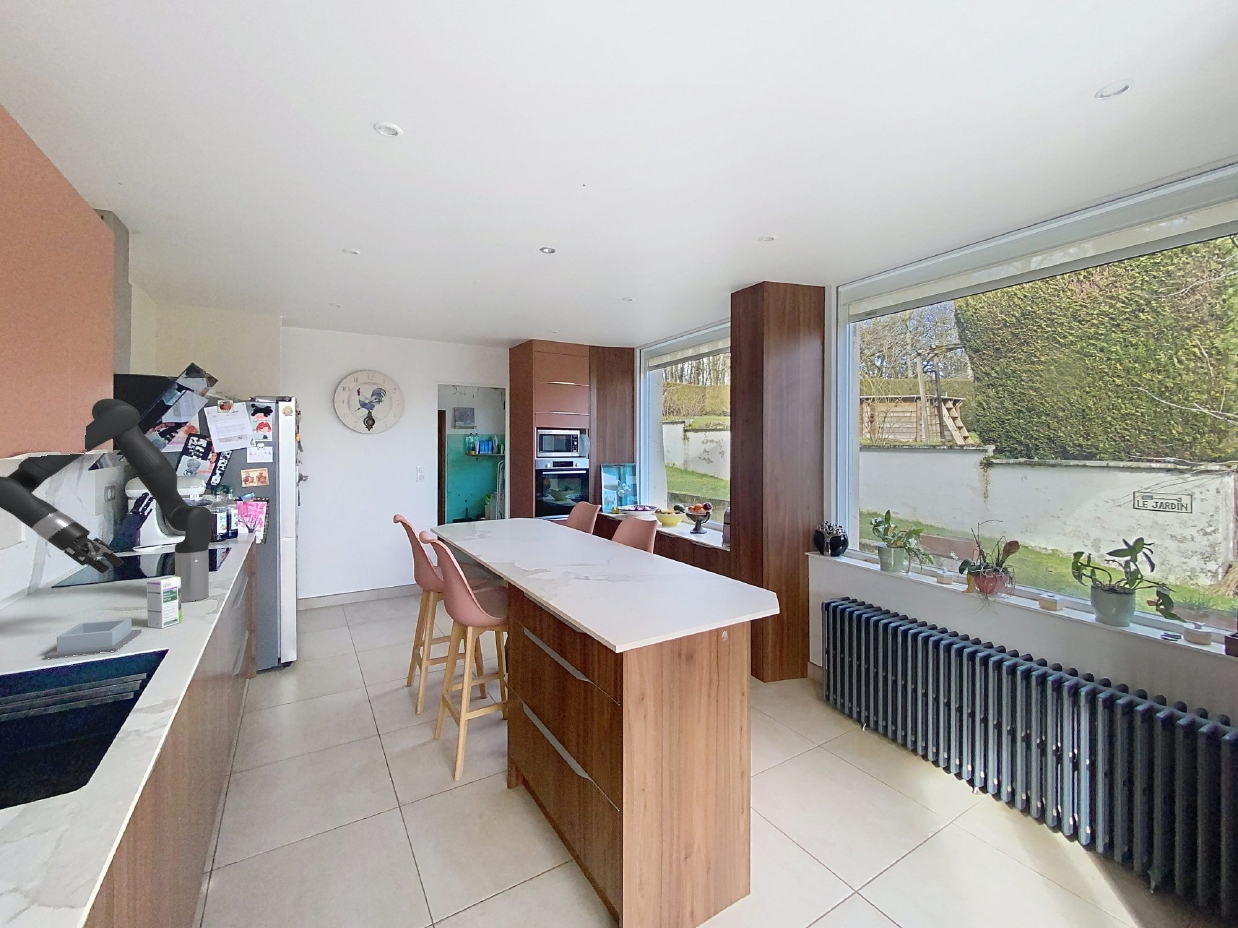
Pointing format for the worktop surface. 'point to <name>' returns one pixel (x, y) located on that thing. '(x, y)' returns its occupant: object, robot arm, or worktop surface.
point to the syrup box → (164, 601)
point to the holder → (94, 638)
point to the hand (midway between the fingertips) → (113, 567)
